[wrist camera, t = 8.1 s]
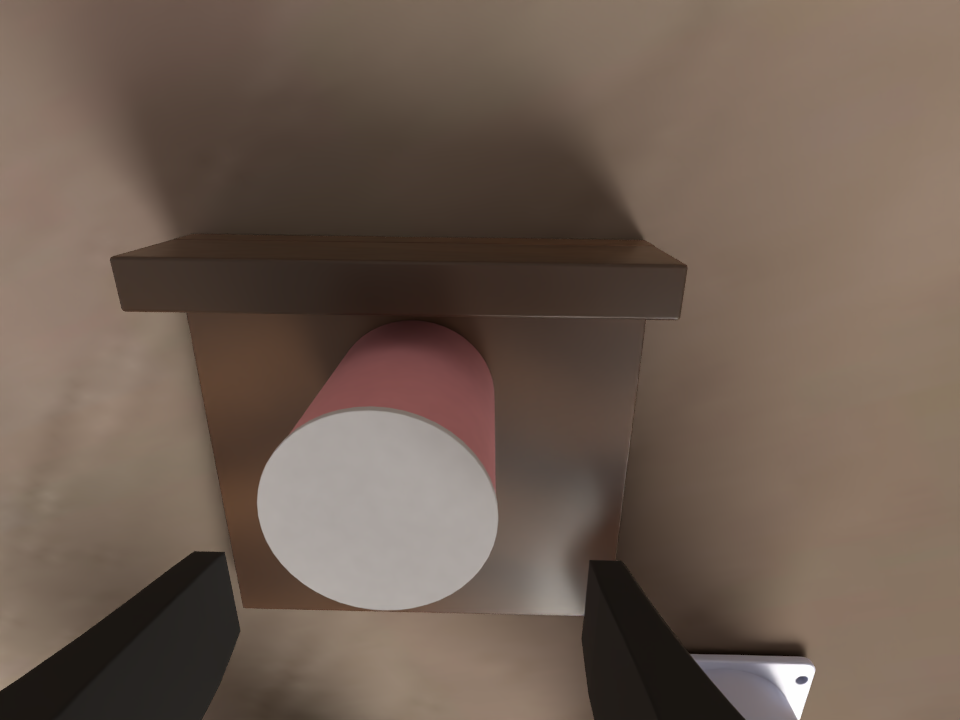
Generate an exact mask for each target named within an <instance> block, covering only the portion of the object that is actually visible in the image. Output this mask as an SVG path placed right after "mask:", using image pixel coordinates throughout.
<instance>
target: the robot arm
mask: <svg viewBox="0 0 960 720" xmlns="http://www.w3.org/2000/svg"><path fill="white" fill-rule="evenodd" d="M239 633H240V626H239V621H238V616H237V611H236V606H235V601H234V596H233V591H232V586H231V581H230V576H229V571H228V566H227V561H226V556H225V552H197V551H194V552H193V553H191V554H190V555H189V556H187V557H186V558H184V559H183V560H181V561H180V562H179V563H177V564H176V565H175V566H173V567H172V568H171V569H169V570H168V571H167V572H165V573H164V574H163V575H161V576H160V577H159V578H157V579H156V580H155V581H153V582H152V583H151V584H149V585H148V586H147V587H145V588H144V589H143V590H141V591H140V592H139V593H138V594H136V595H135V596H134V597H132V598H131V599H130V600H128V601H127V602H126V603H124V604H123V605H122V606H120V607H119V608H118V609H116V610H115V611H113V612H112V613H111V614H109V615H108V616H107V617H105V618H104V619H103V620H101V621H100V622H99V623H97V624H96V625H95V626H93V627H92V628H91V629H89V630H88V631H87V632H85V633H84V634H82V635H81V636H80V637H78V638H77V639H75V640H74V641H72V642H71V643H70V644H68V645H67V646H65V647H64V648H62V649H61V650H60V651H58V652H57V653H55V654H54V655H52V656H51V657H50V658H48V659H47V660H45V661H44V662H42V663H41V664H39V665H38V666H37V667H35V668H34V669H32V670H31V671H29V672H28V673H27V674H25V675H24V676H22V677H21V678H19V679H18V680H16V681H15V682H13V683H12V684H10V685H9V686H7V687H6V688H4V689H3V690H1V691H0V720H202V718H203V716H204V714H205V712H206V710H207V708H208V706H209V704H210V703H211V701H212V699H213V697H214V695H215V693H216V691H217V689H218V687H219V685H220V682H221V680H222V677H223V675H224V672H225V670H226V667H227V665H228V662H229V660H230V657H231V655H232V652H233V649H234V646H235V644H236V641H237V638H238V636H239ZM582 646H583V654H584V662H585V670H586V678H587V685H588V693H589V698H590V702H591V707H592V711H593V716H594V720H800V717H801V714H802V711H803V708H804V704H805V701H806V698H807V695H808V692H809V689H810V686H811V683H812V680H813V677H814V674H815V667H814V665H813V663H812V662H811V660H810V659H809V658H807V657H800V656H760V655H719V654H689V652H688V651H687V650H686V649H685V647H684V646H683V645H682V643H681V642H680V641H679V640H678V638H677V637H676V636H675V635H674V633H673V632H672V631H671V629H670V628H669V627H668V625H667V624H666V623H665V621H664V620H663V619H662V617H661V616H660V615H659V613H658V612H657V610H656V609H655V608H654V606H653V605H652V603H651V602H650V601H649V599H648V598H647V596H646V595H645V594H644V592H643V591H642V589H641V588H640V586H639V585H638V583H637V582H636V580H635V579H634V577H633V576H632V574H631V573H630V571H629V570H628V568H627V567H626V566H625V564H624V563H623V562H622V561H610V560H589V570H588V580H587V590H586V600H585V610H584V621H583V631H582Z"/></svg>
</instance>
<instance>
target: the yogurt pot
mask: <svg viewBox="0 0 960 720" xmlns="http://www.w3.org/2000/svg"><path fill="white" fill-rule="evenodd" d="M257 508H258V517H259V521H260V525H261V529H262V532H263V534H264V537H265V539H266V541H267V543H268V545H269V547H270V548H271V550H272V552H273V553H274V555H275V556H276V557H277V559H278V560H279V561H280V563H281V564H282V565H283V566H284V567H285V568H286V569H287V570H288V571H289V572H290V573H291V574H292V575H293V576H294V577H296V578H297V579H298V580H299V581H300V582H302V583H303V584H305V585H306V586H308V587H309V588H311V589H312V590H314V591H316V592H317V593H319V594H321V595H323V596H325V597H327V598H330V599H332V600H335V601H338V602H340V603H343V604H347V605H351V606H354V607H359V608H365V609H372V610H402V609H410V608H415V607H420V606H424V605H427V604H430V603H433V602H436V601H438V600H441V599H443V598H445V597H447V596H449V595H451V594H452V593H454V592H455V591H457V590H459V589H460V588H462V587H463V586H464V585H465V584H466V583H468V582H469V581H470V580H471V579H472V578H473V577H474V576H475V575H476V574H477V573H478V571H479V570H480V569H481V568H482V566H483V565H484V563H485V562H486V560H487V558H488V557H489V555H490V552H491V550H492V548H493V546H494V542H495V538H496V535H497V528H498V503H497V498H496V476H495V397H494V385H493V380H492V377H491V374H490V371H489V368H488V366H487V364H486V362H485V360H484V359H483V358H482V356H481V355H480V353H479V352H478V351H477V350H476V349H475V347H474V346H473V345H472V344H471V343H470V342H468V341H467V340H466V339H465V338H464V337H462V336H461V335H459V334H457V333H456V332H454V331H452V330H450V329H448V328H446V327H444V326H441V325H438V324H435V323H430V322H425V321H416V320H408V321H398V322H392V323H389V324H386V325H382V326H380V327H378V328H376V329H374V330H372V331H370V332H368V333H367V334H365V335H364V336H363V337H361V338H360V339H359V340H358V341H357V342H356V343H355V344H354V345H353V346H352V347H351V349H350V350H349V351H348V352H347V354H346V355H345V357H344V358H343V359H342V361H341V362H340V364H339V365H338V366H337V368H336V369H335V371H334V372H333V374H332V375H331V376H330V378H329V379H328V381H327V382H326V383H325V385H324V386H323V388H322V389H321V390H320V392H319V393H318V395H317V396H316V397H315V399H314V400H313V402H312V403H311V404H310V406H309V407H308V409H307V410H306V411H305V413H304V414H303V416H302V417H301V418H300V420H299V421H298V423H297V424H296V425H295V427H294V428H293V430H292V431H291V432H290V434H289V435H288V436H287V437H286V438H285V439H284V440H283V441H282V442H281V443H280V445H279V446H278V447H277V448H276V449H275V451H274V452H273V454H272V455H271V457H270V458H269V460H268V462H267V463H266V465H265V468H264V470H263V473H262V475H261V478H260V482H259V487H258V495H257Z"/></svg>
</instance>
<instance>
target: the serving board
mask: <svg viewBox="0 0 960 720" xmlns="http://www.w3.org/2000/svg"><path fill="white" fill-rule="evenodd" d="M110 261H111V266H112V270H113V274H114V278H115V282H116V287H117V291H118V295H119V299H120V304H121V308H122V310H123V311H126V312H186V313H187V318H188V323H189V328H190V333H191V338H192V344H193V349H194V354H195V359H196V364H197V370H198V375H199V380H200V385H201V390H202V396H203V401H204V406H205V411H206V416H207V422H208V427H209V432H210V437H211V442H212V448H213V453H214V458H215V463H216V468H217V474H218V479H219V484H220V489H221V494H222V499H223V505H224V510H225V515H226V520H227V525H228V531H229V536H230V541H231V546H232V551H233V557H234V562H235V567H236V572H237V577H238V583H239V588H240V593H241V598H242V603H243V608H261V609H303V610H345V611H388V612H430V613H472V614H515V615H557V616H584V610H585V600H586V590H587V580H588V570H589V560H610V561H616V553H617V545H618V537H619V529H620V522H621V514H622V506H623V498H624V490H625V482H626V474H627V466H628V458H629V450H630V442H631V434H632V427H633V419H634V411H635V403H636V395H637V387H638V379H639V371H640V363H641V355H642V347H643V339H644V332H645V324H646V320H678V319H679V318H680V315H681V308H682V301H683V295H684V288H685V281H686V275H687V265H685V264H684V263H682V262H680V261H679V260H677V259H675V258H673V257H672V256H670V255H668V254H667V253H665V252H663V251H661V250H660V249H658V248H656V247H655V246H654V245H652V244H650V243H649V242H647V241H645V240H608V239H533V238H459V237H385V236H311V235H236V234H190V235H187V236H183V237H179V238H176V239H173V240H170V241H166V242H163V243H159V244H155V245H152V246H148V247H145V248H141V249H137V250H134V251H130V252H127V253H123V254H119V255H116V256H113V257H111V259H110ZM408 320H416V321H425V322H430V323H435V324H438V325H441V326H444V327H446V328H448V329H450V330H452V331H454V332H456V333H457V334H459V335H461V336H462V337H464V338H465V339H466V340H467V341H468V342H470V343H471V344H472V345H473V346H474V347H475V349H476V350H477V351H478V352H479V353H480V355H481V356H482V358H483V359H484V360H485V362H486V364H487V366H488V368H489V371H490V374H491V377H492V380H493V385H494V397H495V476H496V498H497V503H498V528H497V535H496V538H495V542H494V546H493V548H492V550H491V552H490V555H489V557H488V558H487V560H486V562H485V563H484V565H483V566H482V568H481V569H480V570H479V571H478V573H477V574H476V575H475V576H474V577H473V578H472V579H471V580H470V581H469V582H468V583H466V584H465V585H464V586H463V587H462V588H460V589H459V590H457V591H455V592H454V593H452V594H451V595H449V596H447V597H445V598H443V599H441V600H438V601H436V602H433V603H430V604H427V605H424V606H420V607H415V608H410V609H402V610H372V609H365V608H359V607H354V606H351V605H347V604H343V603H340V602H338V601H335V600H332V599H330V598H327V597H325V596H323V595H321V594H319V593H317V592H316V591H314V590H312V589H311V588H309V587H308V586H306V585H305V584H303V583H302V582H300V581H299V580H298V579H297V578H296V577H294V576H293V575H292V574H291V573H290V572H289V571H288V570H287V569H286V568H285V567H284V566H283V565H282V564H281V563H280V561H279V560H278V559H277V557H276V556H275V555H274V553H273V552H272V550H271V548H270V547H269V545H268V543H267V541H266V539H265V537H264V534H263V532H262V529H261V525H260V521H259V517H258V508H257V495H258V487H259V482H260V478H261V475H262V473H263V470H264V468H265V465H266V463H267V462H268V460H269V458H270V457H271V455H272V454H273V452H274V451H275V449H276V448H277V447H278V446H279V445H280V443H281V442H282V441H283V440H284V439H285V438H286V437H287V436H288V435H289V434H290V432H291V431H292V430H293V428H294V427H295V425H296V424H297V423H298V421H299V420H300V418H301V417H302V416H303V414H304V413H305V411H306V410H307V409H308V407H309V406H310V404H311V403H312V402H313V400H314V399H315V397H316V396H317V395H318V393H319V392H320V390H321V389H322V388H323V386H324V385H325V383H326V382H327V381H328V379H329V378H330V376H331V375H332V374H333V372H334V371H335V369H336V368H337V366H338V365H339V364H340V362H341V361H342V359H343V358H344V357H345V355H346V354H347V352H348V351H349V350H350V349H351V347H352V346H353V345H354V344H355V343H356V342H357V341H358V340H359V339H360V338H361V337H363V336H364V335H365V334H367V333H368V332H370V331H372V330H374V329H376V328H378V327H380V326H382V325H386V324H389V323H392V322H398V321H408Z"/></svg>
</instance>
